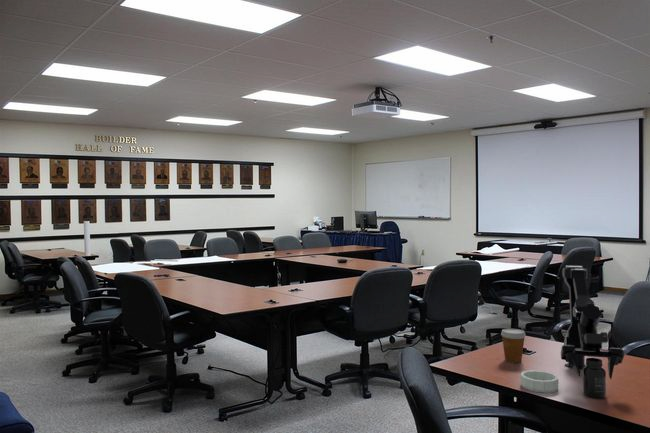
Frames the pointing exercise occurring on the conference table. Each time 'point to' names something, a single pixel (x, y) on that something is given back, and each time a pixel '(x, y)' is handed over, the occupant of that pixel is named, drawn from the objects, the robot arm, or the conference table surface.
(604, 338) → the robot arm
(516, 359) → the disposable coffee cup
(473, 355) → the conference table surface
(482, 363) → the conference table surface
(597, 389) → the supplement bottle
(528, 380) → the ring stand
